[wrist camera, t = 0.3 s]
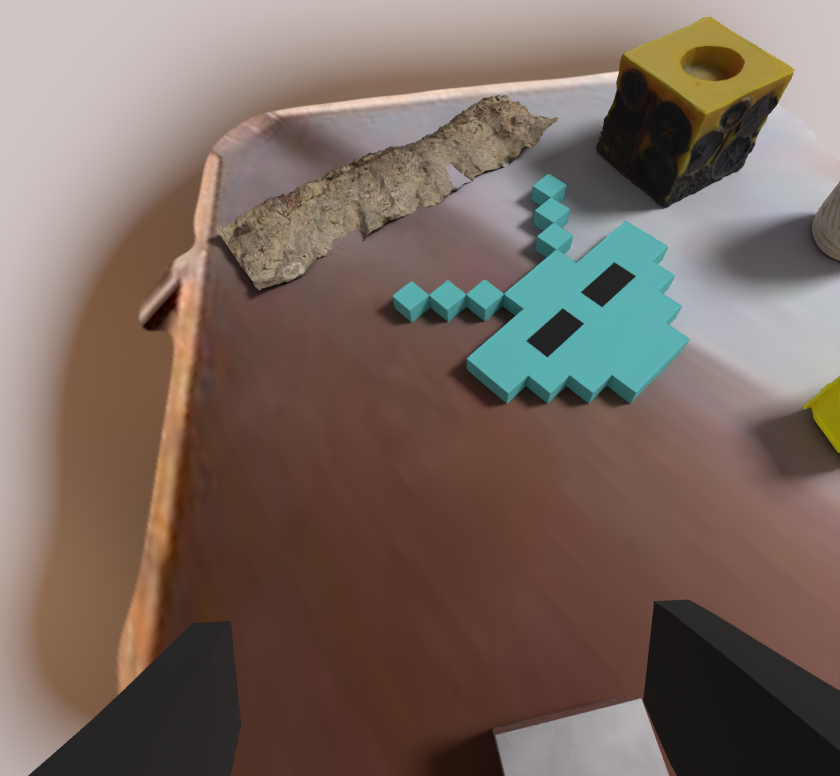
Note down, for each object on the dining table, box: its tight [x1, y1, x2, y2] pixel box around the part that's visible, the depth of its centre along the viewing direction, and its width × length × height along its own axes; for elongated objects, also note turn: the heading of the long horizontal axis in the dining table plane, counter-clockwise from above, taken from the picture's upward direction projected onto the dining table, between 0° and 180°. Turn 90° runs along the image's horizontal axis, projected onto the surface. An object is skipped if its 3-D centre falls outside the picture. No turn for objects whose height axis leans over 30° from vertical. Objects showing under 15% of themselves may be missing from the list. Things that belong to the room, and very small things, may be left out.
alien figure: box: [393, 174, 689, 404], centre depth 47 cm, size 20×2×20 cm
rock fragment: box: [215, 95, 558, 290], centre depth 55 cm, size 34×10×3 cm, turn 124°
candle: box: [596, 17, 794, 207], centre depth 51 cm, size 10×10×10 cm
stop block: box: [492, 697, 669, 776], centre depth 30 cm, size 4×8×5 cm, turn 102°
